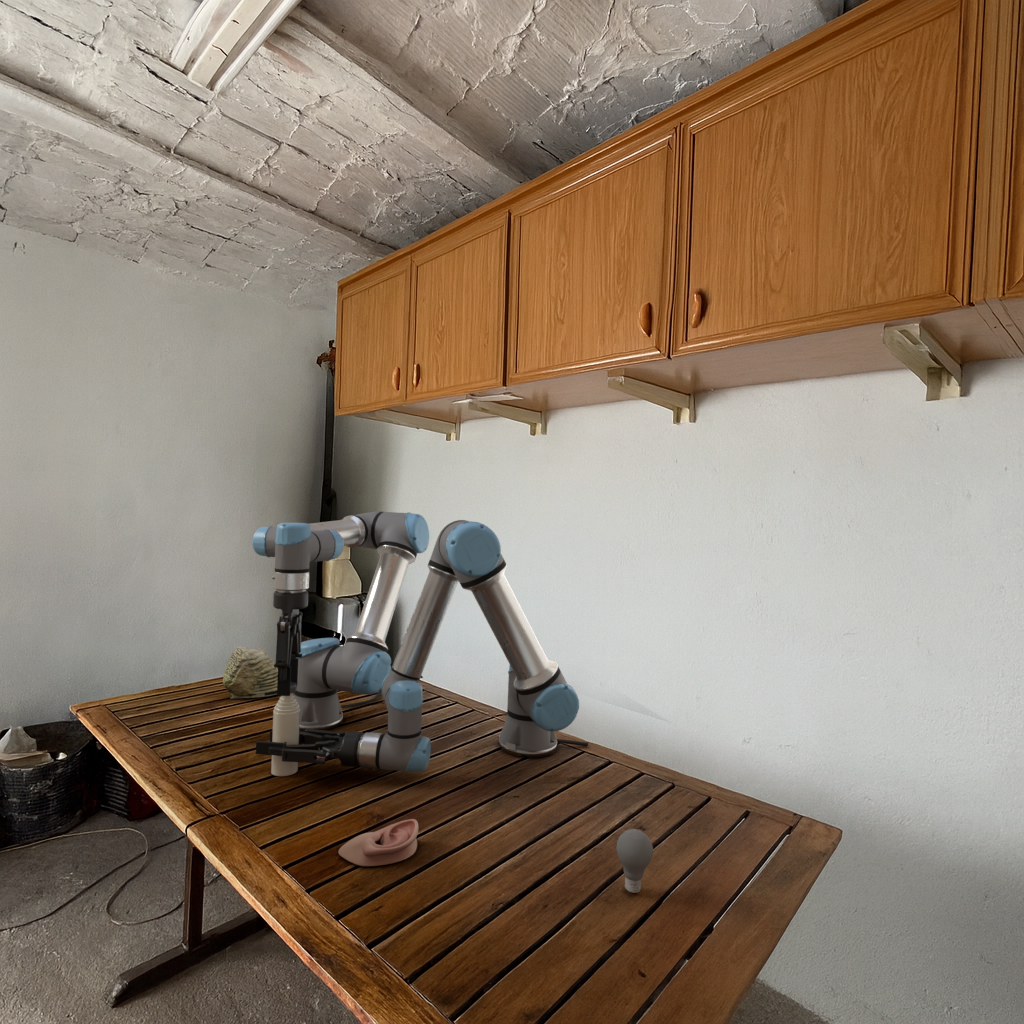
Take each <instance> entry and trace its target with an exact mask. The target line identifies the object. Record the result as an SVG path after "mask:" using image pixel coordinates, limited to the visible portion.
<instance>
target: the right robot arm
mask: <svg viewBox="0 0 1024 1024" xmlns="http://www.w3.org/2000/svg"><path fill="white" fill-rule="evenodd" d="M507 567H508V564H507V563H506V561H505V558H504V556H503V555H502V546H501V542H500V539H499V537H498V535H497V534H496V533H495V532H494V531H493V530H492V529H491V528H490V527H489V526H488V525H486V524H484V523H481V522H479V521H471V520H470V521H469V520H465V519H457V520H454V521H451V522H449V523H447V524H446V525H445V526H444V527H443V528H442V529H441V530H440V532H439V534H438V536H437V538H436V541H435V544H434V547H433V550H432V552H431V556H430V559H429V561H428V562H427V568H428V570H429V571H428V575H427V577H426V579H425V582H424V584H423V587H422V589H421V592H420V595H419V598H418V599H417V602H416V605H415V607H414V610H413V613H412V615H411V617H410V620H409V622H408V624H407V627H406V630H405V633H404V635H403V638H402V640H401V642H400V645H399V648H398V650H397V653H396V656H395V658H394V660H393V663H392V665H391V670H390V673H389V674H388V675H387V676H386V677H385V678H384V680H383V682H382V687H381V689H380V690H382V692H381V693H380V694H381V697H382V699H383V700H384V703H385V707H386V711H387V733H384V732H383V733H382V732H372V731H371V732H370V731H367V732H365V733H364V732H362V731H352V730H348V731H347V732H346V731H345V730H344V731H334V730H333V731H332V730H325V731H324V730H314V729H305V732H303V731H299V745H286V742H284V743H280V742H272V731H273V729H271V730H270V731H269V741H265V740H257V741H256V742H255V754H256V755H264V756H265V755H266V756H272V755H275V756H282V761H284V762H298V763H303V764H316V765H321V766H324V765H326V761H327V760H338V761H340V764H341V765H342V766H343V767H349V768H358V767H360V768H365V769H370V770H372V771H375V770H388V771H399V772H405V773H422V772H424V771H426V770H427V768H428V767H429V763H430V760H431V759H430V758H431V754H432V753H431V752H432V745H431V739H430V738H429V737H427V736H424V735H422V717H423V716H422V715H423V702H424V697H423V686H422V684H421V683H419V682H420V680H421V679H422V678H421V675H422V674H423V672H424V669H425V667H426V664H427V663H428V659H429V657H430V654H431V651H432V649H433V646H434V644H435V642H436V639H437V636H438V634H439V631H440V629H441V626H442V624H443V621H444V618H445V616H446V614H447V611H448V609H449V607H450V604H451V601H452V599H453V596H454V594H455V591H456V588H457V586H458V584H460V587H461V588H462V589H463V590H466V591H470V592H471V593H472V595H473V597H474V599H475V601H476V603H477V604H478V607H479V609H480V610H481V612H482V614H483V617H484V619H485V620H486V623H487V624H488V625H489V628H490V630H491V631H492V633H493V636H494V637H495V640H496V641H497V643H498V645H499V646H500V649H501V650H502V652H503V654H504V656H505V658H506V661H507V662H508V664H509V667H508V672H507V674H508V684H507V688H508V689H507V711H506V718H505V721H504V723H503V726H502V729H501V731H500V734H499V737H498V747H499V749H500V750H501V751H502V752H504V753H506V754H507V755H511V756H513V757H517V758H518V757H519V758H526V759H528V758H529V759H536V758H537V759H539V758H544V757H548V756H550V755H553V754H554V753H556V752H557V749H558V744H563V745H564V744H565V745H572V746H580V747H589V742H588V741H579V740H569V739H559V738H557V735H556V732H559V731H562V730H564V729H566V728H568V727H569V726H570V725H571V724H572V723H573V722H574V721H575V720H576V718H577V715H578V712H579V710H580V698H579V696H578V693H577V691H576V690H575V688H574V687H573V686H572V685H570V684H569V683H568V682H567V680H566V678H565V676H564V675H563V673H562V670H561V668H560V667H559V664H558V663H557V661H555V660H552V659H550V658H548V657H547V655H546V653H545V651H544V649H543V647H542V646H541V643H540V642H539V639H538V638H537V636H536V633H535V631H534V629H533V627H532V626H531V624H530V622H529V620H528V618H527V616H526V614H525V612H524V610H523V608H522V606H521V604H520V602H519V601H518V599H517V597H516V594H515V592H514V591H513V589H512V587H511V585H510V583H509V581H508V579H507V577H506V573H505V572H506V569H507ZM422 676H423V675H422Z"/></svg>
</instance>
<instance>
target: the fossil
mask: <svg viewBox="0 0 1024 1024" xmlns="http://www.w3.org/2000/svg"><path fill="white" fill-rule="evenodd" d="M275 663H276V662H274V660H273V659H272V658H271V657H270V656H269V655H268V654H267V653H266V652H265V650H264V649H263V648H260V647H258V648H251V647H247V646H246V647H245V646H238V647H237V648H236V649H235V650H233V651H232V653H231V656H230V657H229V659H228V660H227V663H226V666H225V668H224V671H223V675H222V676H223V677H222V685H223V687H224V688H225V690H226V691H228V693H229V698H230V699H250V698H264V697H271V696H275V695H276V696H277V681H278V667H274V664H275Z"/></svg>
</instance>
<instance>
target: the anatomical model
mask: <svg viewBox="0 0 1024 1024" xmlns="http://www.w3.org/2000/svg"><path fill="white" fill-rule="evenodd" d="M418 834H419V822H418V820H417V819H415V818H410V819H409V818H408V819H403V820H401V821H398V822H394V823H391V824H390V825H387V826H385V827H383V828H380V829H377V830H375V831H369V832H365V833H362V834H359V835H357V836H355V837H353V838H351V839H350V840H348V841H347V842H346V843H344V844H343V845H342V846H341V847H340V848H339V849H338V852H337V853H338V855H339V856H340V857H341V858H343V859H344V860H346V861H347V862H349V863H352V864H354V865H356V866H359V867H376V866H384V865H391V864H395V863H398V862H402V861H404V860H407V859H408V858H410V857H411V856H413V855H414V854H415V853H416V851H417V849H418V839H417V836H418Z"/></svg>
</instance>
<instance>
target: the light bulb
mask: <svg viewBox="0 0 1024 1024" xmlns="http://www.w3.org/2000/svg"><path fill="white" fill-rule="evenodd" d="M615 849H616V854H617V857H618V859H619V861H620V863H621V865H622V867H623V873H624V874H623V875H624V876H625V878H624V888H625V890H627V891H628V892H630V893H634V894H635V893H639V892H640V891H641V889H642V887H641V886H642V879H643V877H644V875H645V871H646V868H647V867H648V866H649V864H650V863H651V861H652V859H653V855H654V847H653V843H652V841H651V838H649V836H648V835H647V834H646V833H645V832H643V831H642V830H641V829H636V828H629V829H627V830H625V831H623V832H622V833H621V834H620V835H619V837H618V839H617V841H616V847H615Z"/></svg>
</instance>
